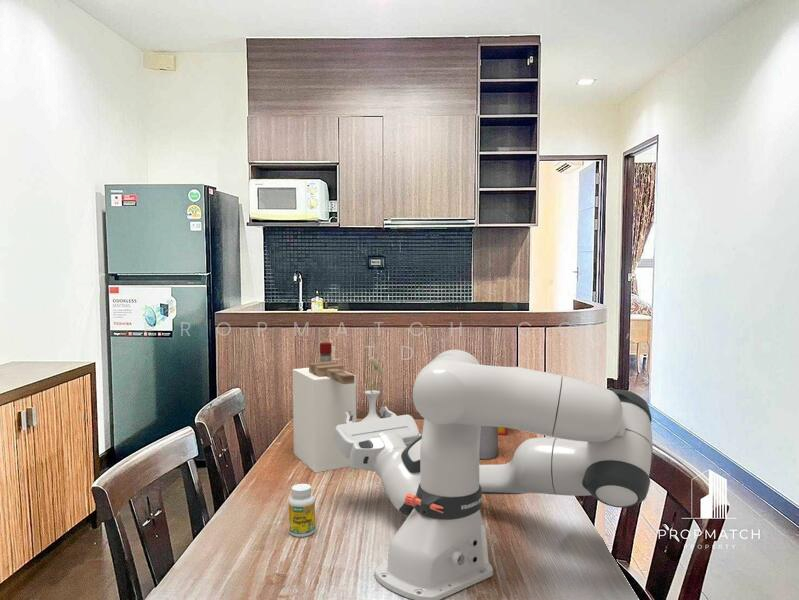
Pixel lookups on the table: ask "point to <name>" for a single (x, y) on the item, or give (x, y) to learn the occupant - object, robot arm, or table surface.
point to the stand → (320, 418)
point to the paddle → (331, 372)
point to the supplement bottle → (301, 511)
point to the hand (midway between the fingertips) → (365, 411)
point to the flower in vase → (373, 392)
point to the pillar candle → (488, 442)
